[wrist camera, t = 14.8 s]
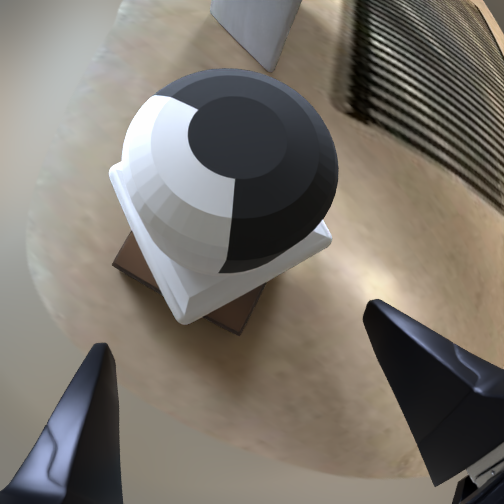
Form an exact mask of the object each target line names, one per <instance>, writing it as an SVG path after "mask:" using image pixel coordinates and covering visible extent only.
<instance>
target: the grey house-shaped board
mask: <svg viewBox="0 0 504 504" xmlns="http://www.w3.org/2000/svg"><path fill="white" fill-rule="evenodd" d="M301 1H302V0H212V1H211V8H210V13H211V14H212V15H213V16H214V17H215V18H216V20H217V21H218V22H219V23H220V24H221V25H222V26H223V27H224V28H225V29H226V30H227V31H228V32H229V33H230V34H231V35H232V36H233V37H234V38H235V40H236V41H237V42H238V43H240V44H241V45H242V46H243V47H244V48H245V49H246V50H247V51H248V52H249V53H250V54H251V55H252V56H253V57H254V58H255V59H256V60H257V61H258V62H259V63H260V64H261V65H262V66H263V67H264V68H265V69H266V70H267V71H268V72H272V71H274V70H275V67H276V65H277V62H278V59H279V57H280V54H281V52H282V49H283V46H284V44H285V41H286V39H287V36H288V34H289V31H290V29H291V26H292V24H293V21H294V19H295V16H296V14H297V11H298V9H299V6H300V4H301Z"/></svg>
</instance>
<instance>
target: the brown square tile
mask: <svg viewBox="0 0 504 504" xmlns="http://www.w3.org/2000/svg"><path fill="white" fill-rule="evenodd" d="M112 266H114V267H115V268H117V269H118V270H120V271H122V272H123V273H125V274H127V275H128V276H130V277H132V278H133V279H135V280H137V281H139V282H140V283H142V284H144V285H145V286H147V287H149V288H151V289H152V290H154V291H156V292H157V293H159V294H161V295H163V294H162V292H161V290H160V288H159V286H158V284H157V282H156V280H155V278H154V276H153V274H152V272H151V270H150V268H149V266H148V264H147V262H146V260H145V258H144V256H143V254H142V251H141V249H140V247H139V245H138V243H137V241H136V238H135V236H134V234H133V232H132V230H131V232H130V234H129V235H128V237H127V239H126V240H125V242H124V244H123V246H122V247H121V249H120V251H119V253H118V254H117V256H116V258H115V260H114V261H113V263H112ZM266 283H267V282H265V283H264V284H262V285H260V286H258V287H256V288H254V289H253V290H251V291H249V292H247V293H245V294H244V295H242V296H240V297H238V298H236V299H234V300H233V301H231V302H229V303H227V304H225V305H223V306H222V307H220V308H218V309H216V310H214V311H212V312H210V313H209V314H207V315H205V316H203V318H205V319H207V320H209V321H210V322H212V323H214V324H216V325H218V326H220V327H222V328H224V329H226V330H228V331H230V332H232V333H234V334H236V335H238V336H240V335H241V333H242V331H243V329H244V327H245V325H246V323H247V321H248V319H249V317H250V315H251V313H252V311H253V309H254V307H255V305H256V303H257V301H258V299H259V297H260V295H261V293H262V291H263V289H264V287H265V285H266Z"/></svg>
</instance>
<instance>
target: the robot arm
mask: <svg viewBox="0 0 504 504" xmlns="http://www.w3.org/2000/svg"><path fill="white" fill-rule="evenodd" d="M363 323H364V326H365V329H366V331H367V334H368V336H369V339H370V342H371V344H372V347H373V350H374V352H375V355H376V357H377V359H378V362H379V364H380V366H381V368H382V370H383V372H384V374H385V376H386V378H387V380H388V382H389V384H390V386H391V388H392V390H393V393H394V395H395V397H396V399H397V401H398V403H399V405H400V408H401V410H402V412H403V414H404V416H405V418H406V421H407V423H408V425H409V427H410V430H411V432H412V434H413V436H414V439H415V441H416V443H417V446H418V448H419V451H420V453H421V455H422V458H423V460H424V463H425V465H426V467H427V470H428V472H429V475H430V477H431V480H432V482H433V484H434V486H435V487H436V486H438V485H440V484H442V483H443V482H445V481H447V480H449V479H450V478H452V477H453V476H455V475H457V474H458V473H460V472H462V471H463V470H465V469H466V470H467V472H468V475H467V476H465V477H464V478H463V479H461V480H460V481H459V482H458V484H457V488H456V491H455V495H454V498H453V502H452V504H504V369H501V368H499V367H497V366H495V365H493V364H491V363H489V362H487V361H485V360H483V359H481V358H479V357H478V356H476V355H474V354H472V353H470V352H468V351H467V350H465V349H463V348H461V347H460V346H458V345H456V344H455V343H454V344H453V342H451V341H450V340H448V339H446V338H445V337H443V336H441V335H440V334H438V333H436V332H435V331H433V330H431V329H430V328H428V327H426V326H425V325H423V324H421V323H420V322H418V321H416V320H414V319H413V318H411V317H409V316H408V315H406V314H404V313H403V312H401V311H399V310H397V309H396V308H394V307H392V306H391V305H389V304H387V303H385V302H384V301H382V300H380V299H374V300H370V301H369V302H368V303H367V306H366V309H365V312H364V315H363ZM0 504H123V496H122V485H121V468H120V444H119V400H118V390H117V377H116V364H115V359H114V357H113V354H112V352H111V350H110V348H109V346H108V344H107V343H96V344H94V345H93V347H92V348H91V350H90V351H89V353H88V355H87V356H86V358H85V359H84V361H83V363H82V364H81V366H80V367H79V369H78V371H77V372H76V374H75V375H74V377H73V379H72V381H71V382H70V384H69V386H68V387H67V389H66V391H65V392H64V394H63V396H62V397H61V399H60V401H59V403H58V404H57V406H56V408H55V410H54V411H53V413H52V415H51V417H50V419H49V420H48V422H47V425H45V427H44V429H43V431H42V433H41V435H40V436H39V438H38V440H37V442H36V443H35V445H34V447H33V448H32V450H31V451H30V453H29V455H28V456H27V458H26V459H25V461H24V462H23V464H22V465H21V467H20V468H19V470H18V471H17V473H16V474H15V476H14V477H13V479H12V480H11V482H10V483H9V484H8V485H7V486H6V487H5V488H4V489H3V490H1V491H0Z"/></svg>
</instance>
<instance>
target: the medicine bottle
mask: <svg viewBox="0 0 504 504" xmlns="http://www.w3.org/2000/svg"><path fill="white" fill-rule="evenodd" d="M338 169H339V168H338V159H337V153H336V149H335V145H334V142H333V140H332V137H331V135H330V132H329V130H328V129H327V127H326V125H325V123H324V122H323V120H322V118H321V117H320V115H319V114H318V113H317V111H316V110H315V109H314V108H313V106H312V105H311V104H310V103H309V102H308V101H307V100H306V99H305V98H304V97H302V96H301V95H300V94H299V93H297V92H296V91H295V90H294V89H292V88H290V87H289V86H287V85H286V84H284V83H282V82H280V81H278V80H276V79H274V78H272V77H269V76H266V75H263V74H261V73H257V72H253V71H248V70H241V69H226V68H223V69H211V70H205V71H200V72H196V73H193V74H190V75H187V76H185V77H182V78H180V79H178V80H176V81H174V82H172V83H170V84H169V85H167V86H165V87H164V88H162V89H161V90H159V91H158V92H157V93H156V94H154V95H153V96H152V97H151V98H150V99H149V100H148V101H147V102H146V103H145V104H144V105H143V106H142V107H141V108H140V110H139V111H138V113H137V114H136V116H135V117H134V119H133V121H132V123H131V125H130V127H129V129H128V131H127V134H126V138H125V141H124V145H123V153H122V162H120V163H118V164H116V165H114V166H113V167H111V169H110V171H109V178H110V180H111V183H112V185H113V188H114V190H115V192H116V195H117V197H118V200H119V202H120V204H121V207H122V209H123V211H124V214H125V216H126V218H127V221H128V223H129V225H130V227H131V230H132V232H133V234H134V236H135V238H136V241H137V243H138V245H139V247H140V249H141V251H142V254H143V256H144V258H145V260H146V262H147V264H148V266H149V268H150V270H151V272H152V274H153V276H154V278H155V280H156V282H157V284H158V286H159V288H160V290H161V292H162V294H163V296H164V298H165V300H166V302H167V304H168V306H169V308H170V309H171V311H172V313H173V315H174V317H175V319H176V320H177V321H178V322H179V323H180V324H183V325H186V324H190V323H192V322H194V321H196V320H197V319H199V318H201V317H203V316H205V315H207V314H209V313H210V312H212V311H214V310H216V309H218V308H220V307H222V306H223V305H225V304H227V303H229V302H231V301H233V300H234V299H236V298H238V297H240V296H242V295H244V294H245V293H247V292H249V291H251V290H253V289H254V288H256V287H258V286H260V285H262V284H264V283H265V282H267V281H269V280H271V279H272V278H274V277H276V276H278V275H280V274H281V273H283V272H285V271H287V270H288V269H290V268H292V267H294V266H295V265H297V264H299V263H301V262H302V261H304V260H306V259H308V258H309V257H311V256H313V255H315V254H316V253H318V252H320V251H322V250H323V249H325V248H327V247H328V246H329V245H330V244H331V242H332V236H331V234H330V232H329V230H328V228H327V226H326V225H325V223H324V221H323V219H324V217H325V215H326V214H327V212H328V210H329V208H330V207H331V204H332V202H333V199H334V196H335V193H336V188H337V184H338Z"/></svg>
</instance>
